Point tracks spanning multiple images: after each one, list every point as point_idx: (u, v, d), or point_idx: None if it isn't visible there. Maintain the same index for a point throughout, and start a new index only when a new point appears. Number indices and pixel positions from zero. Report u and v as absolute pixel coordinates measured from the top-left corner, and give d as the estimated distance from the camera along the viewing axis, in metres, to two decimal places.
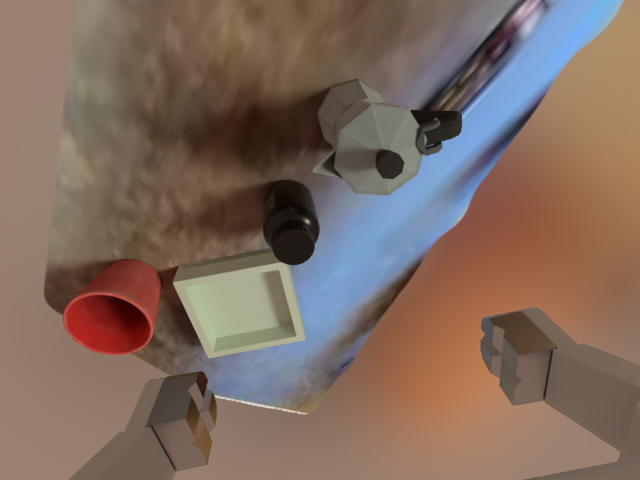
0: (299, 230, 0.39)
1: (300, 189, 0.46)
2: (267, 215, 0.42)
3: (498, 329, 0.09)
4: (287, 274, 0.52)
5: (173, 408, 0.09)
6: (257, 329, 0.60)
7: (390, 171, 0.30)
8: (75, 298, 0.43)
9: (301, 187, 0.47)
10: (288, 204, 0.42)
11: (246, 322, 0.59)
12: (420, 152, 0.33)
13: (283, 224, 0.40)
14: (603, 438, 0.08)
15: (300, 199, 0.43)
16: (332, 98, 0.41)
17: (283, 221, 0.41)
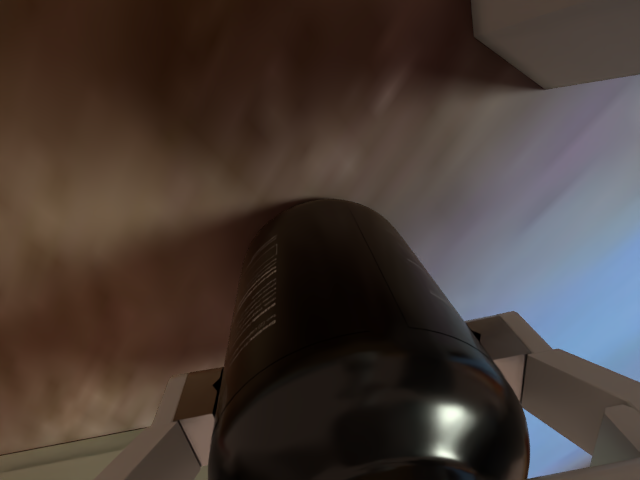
0: None
1: (382, 230, 0.11)
2: (233, 388, 0.07)
3: (475, 333, 0.09)
4: None
5: (199, 403, 0.09)
6: None
7: None
8: None
9: (385, 226, 0.12)
10: (363, 328, 0.07)
11: None
12: None
13: None
14: (577, 443, 0.08)
15: (411, 281, 0.09)
16: None
17: (338, 469, 0.06)
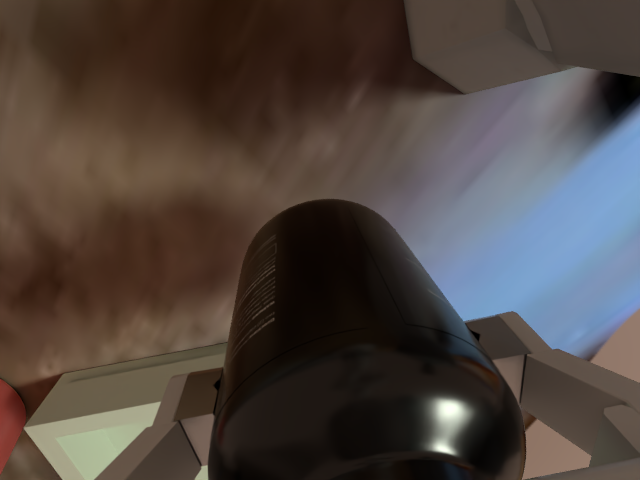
0: None
1: (381, 229, 0.12)
2: (232, 384, 0.07)
3: (474, 334, 0.09)
4: None
5: (199, 403, 0.09)
6: None
7: None
8: None
9: (383, 225, 0.12)
10: (360, 325, 0.07)
11: None
12: None
13: None
14: (576, 443, 0.08)
15: (408, 280, 0.09)
16: None
17: (335, 464, 0.06)
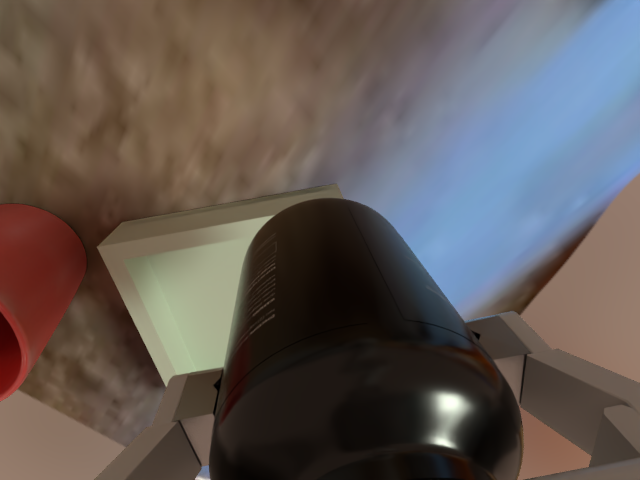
0: None
1: (380, 227, 0.12)
2: (233, 380, 0.07)
3: (474, 333, 0.09)
4: None
5: (199, 403, 0.09)
6: None
7: None
8: None
9: (383, 223, 0.12)
10: (359, 320, 0.07)
11: None
12: None
13: None
14: (576, 443, 0.08)
15: (407, 276, 0.09)
16: None
17: (334, 456, 0.06)
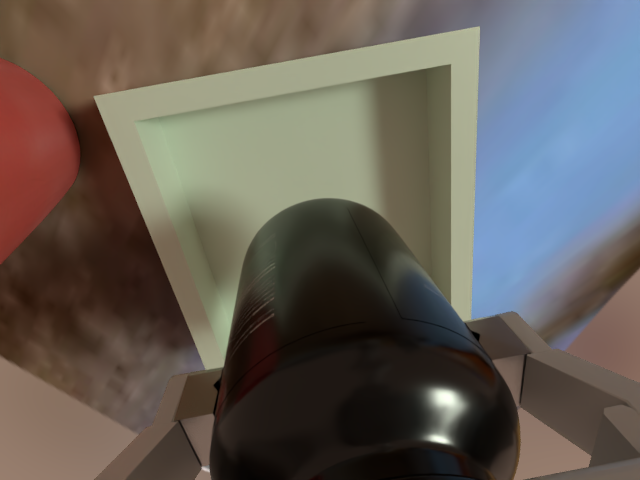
0: None
1: (379, 227, 0.12)
2: (233, 378, 0.07)
3: (474, 334, 0.09)
4: (474, 87, 0.16)
5: (199, 403, 0.09)
6: None
7: None
8: None
9: (382, 223, 0.12)
10: (358, 319, 0.07)
11: None
12: None
13: None
14: (576, 443, 0.08)
15: (405, 276, 0.09)
16: None
17: (333, 453, 0.06)
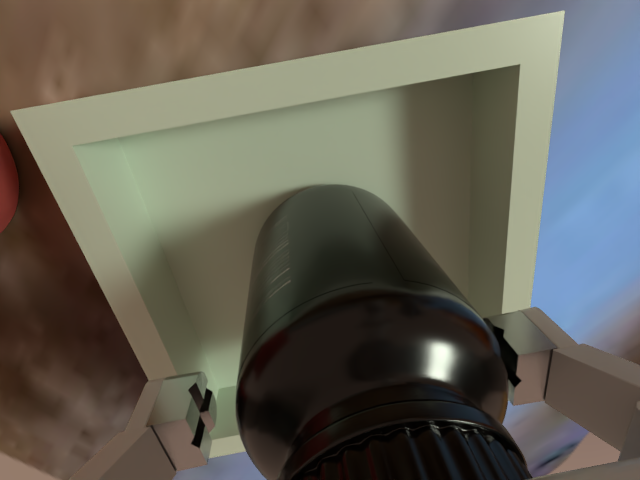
0: None
1: (382, 210, 0.13)
2: (256, 335, 0.08)
3: (498, 329, 0.09)
4: (549, 96, 0.11)
5: (173, 408, 0.09)
6: None
7: None
8: None
9: (385, 206, 0.13)
10: (365, 280, 0.08)
11: None
12: None
13: (354, 430, 0.06)
14: (603, 438, 0.08)
15: (407, 249, 0.10)
16: None
17: (346, 388, 0.07)
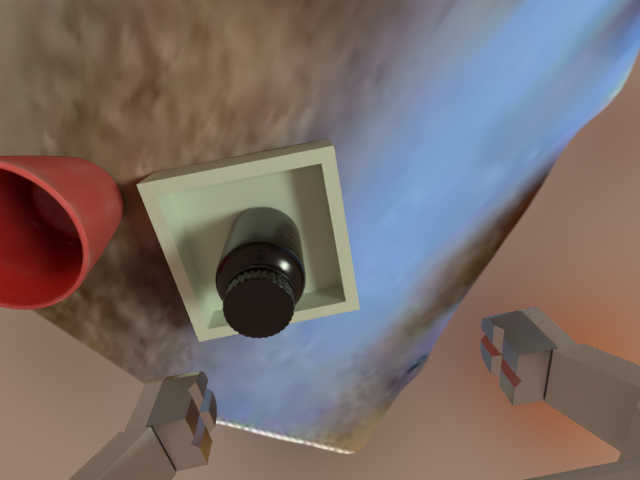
0: (266, 279, 0.23)
1: (277, 217, 0.31)
2: (221, 257, 0.27)
3: (498, 329, 0.09)
4: (335, 173, 0.30)
5: (173, 408, 0.09)
6: None
7: None
8: None
9: (281, 216, 0.32)
10: (253, 238, 0.26)
11: None
12: None
13: (242, 270, 0.24)
14: (603, 438, 0.08)
15: (275, 230, 0.28)
16: None
17: (244, 265, 0.25)
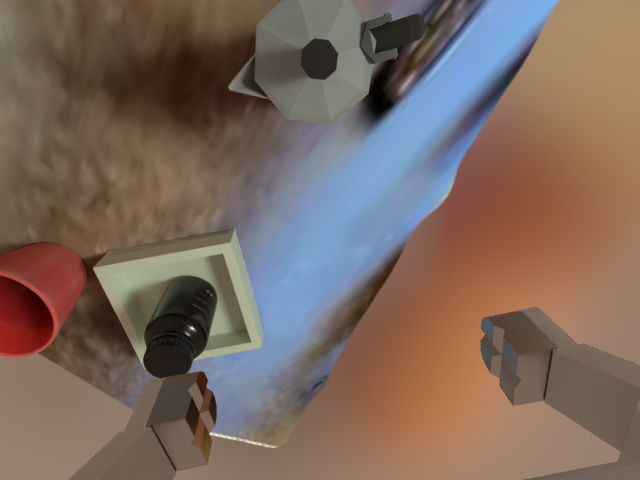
0: (170, 345, 0.36)
1: (195, 287, 0.44)
2: (148, 322, 0.40)
3: (498, 329, 0.09)
4: (234, 260, 0.42)
5: (173, 408, 0.09)
6: None
7: (319, 67, 0.22)
8: None
9: (199, 285, 0.44)
10: (169, 311, 0.39)
11: None
12: (368, 60, 0.25)
13: (156, 336, 0.37)
14: (603, 438, 0.08)
15: (188, 302, 0.41)
16: None
17: (160, 331, 0.38)
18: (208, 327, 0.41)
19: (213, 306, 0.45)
